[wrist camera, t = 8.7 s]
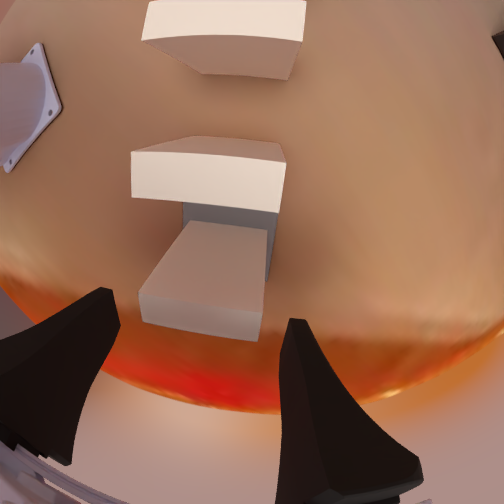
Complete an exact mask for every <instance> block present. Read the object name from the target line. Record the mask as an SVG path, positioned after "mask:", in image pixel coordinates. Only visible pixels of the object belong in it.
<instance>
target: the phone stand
mask: <svg viewBox="0 0 504 504" xmlns="http://www.w3.org/2000/svg"><path fill="white" fill-rule="evenodd" d="M492 37H493V39H494V40H495V42H496V44H497V46H498V48H499V49H500V51H501V53H502V55H503V57H504V31H502V32H500V33H498V34H496V35H494V36H492Z"/></svg>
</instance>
